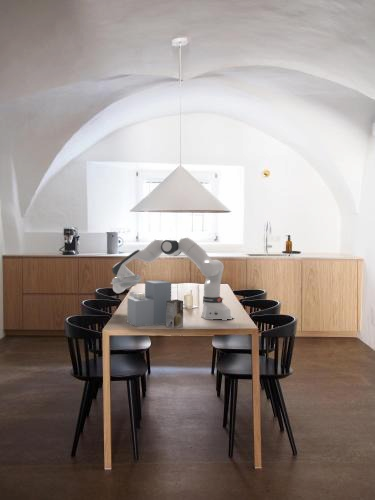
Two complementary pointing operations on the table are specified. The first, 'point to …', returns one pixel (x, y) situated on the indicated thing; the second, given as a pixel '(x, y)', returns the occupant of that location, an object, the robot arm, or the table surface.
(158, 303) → the stepped stand
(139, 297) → the long bar
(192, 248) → the robot arm
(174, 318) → the coffee box
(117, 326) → the table surface
